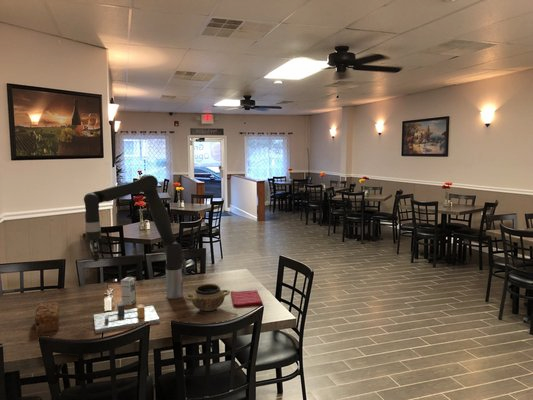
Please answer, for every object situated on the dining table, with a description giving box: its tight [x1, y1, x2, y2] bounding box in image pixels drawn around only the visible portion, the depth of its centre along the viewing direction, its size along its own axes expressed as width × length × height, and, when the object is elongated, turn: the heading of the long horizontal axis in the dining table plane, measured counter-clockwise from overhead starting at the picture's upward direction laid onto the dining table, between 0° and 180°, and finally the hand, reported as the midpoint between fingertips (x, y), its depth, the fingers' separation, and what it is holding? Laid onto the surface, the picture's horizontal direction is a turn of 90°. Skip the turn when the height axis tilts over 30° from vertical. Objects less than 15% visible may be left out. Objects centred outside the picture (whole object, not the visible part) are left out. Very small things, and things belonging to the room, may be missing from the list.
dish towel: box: [230, 289, 264, 308], centre depth 239 cm, size 17×24×3 cm
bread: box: [34, 300, 60, 334], centre depth 204 cm, size 19×11×10 cm, turn 25°
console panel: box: [93, 301, 160, 334], centre depth 209 cm, size 30×20×7 cm, turn 115°
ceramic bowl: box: [184, 283, 231, 314], centre depth 222 cm, size 24×18×15 cm
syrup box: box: [120, 276, 137, 306], centre depth 233 cm, size 6×6×14 cm
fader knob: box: [136, 303, 145, 318], centre depth 209 cm, size 3×5×5 cm, turn 25°
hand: (95, 259), depth 222 cm, fingers open, 8 cm apart
